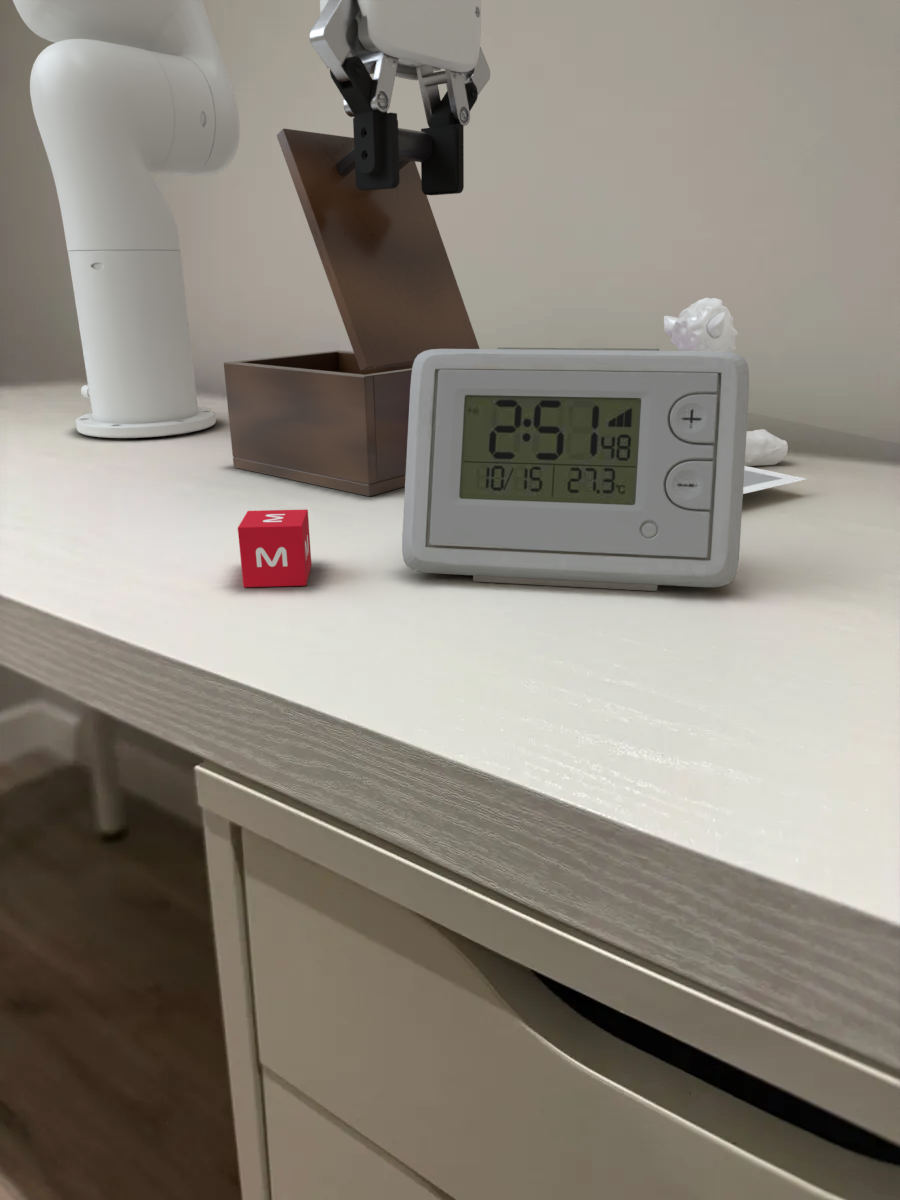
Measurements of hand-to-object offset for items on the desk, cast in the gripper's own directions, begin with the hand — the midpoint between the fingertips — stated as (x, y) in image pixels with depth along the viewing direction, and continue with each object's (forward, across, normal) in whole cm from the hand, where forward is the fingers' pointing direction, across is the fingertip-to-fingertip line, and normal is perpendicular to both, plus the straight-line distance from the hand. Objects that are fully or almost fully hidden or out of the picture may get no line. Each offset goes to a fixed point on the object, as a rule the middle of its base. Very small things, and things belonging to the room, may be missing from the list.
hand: (411, 188), depth 56 cm
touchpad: (+19, -6, +18) cm, 27 cm away
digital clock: (+19, +11, +19) cm, 29 cm away
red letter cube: (+19, +20, +9) cm, 29 cm away
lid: (+4, 0, -3) cm, 5 cm away
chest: (+19, 0, -6) cm, 20 cm away
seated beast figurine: (+19, -18, +14) cm, 30 cm away
